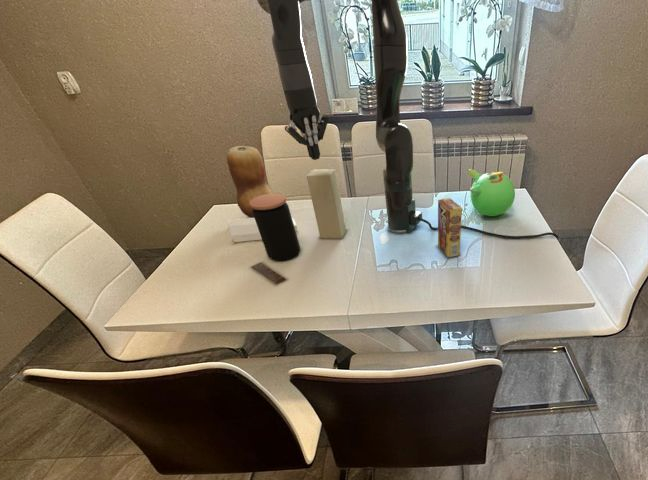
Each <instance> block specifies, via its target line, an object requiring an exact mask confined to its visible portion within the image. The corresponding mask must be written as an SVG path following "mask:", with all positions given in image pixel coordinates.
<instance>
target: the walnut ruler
mask: <svg viewBox="0 0 648 480" xmlns="http://www.w3.org/2000/svg"><path fill="white" fill-rule="evenodd" d="M251 267H252V268H253V270H256V271H257V272H258V273H259V274H262V275H263V276H264V277H266V278H267V279H268V280H270V281H271V282H273V283H275V284H276V285H278V284H280V283H282V282H284V281H286V278H285V277H283V276H282V275H280V274H279V273H277V272H276V271H274V270H272V269H271V268H270V267H268V266H267V265H265V264H264V263H262V262H258V263H256V264H254V265H252V266H251Z"/></svg>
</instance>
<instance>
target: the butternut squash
mask: <svg viewBox="0 0 648 480" xmlns="http://www.w3.org/2000/svg"><path fill="white" fill-rule="evenodd" d="M226 161H227V166H228V171H229V174H230V176H231V179H232V182H233V185H234V186H235V189H236V202H237V206H238V208H239V210H240V211H241V213H242V214H244V216H246V217H247V218H254V215H253V213H252V210H253V208H251V206H250V204H249V203H250V201H251V200H252V199H254V198H256V197H258V196H261V195H265V194H274V193H273V192H272V189H271V188H270V187H269V185H268V182H267V177H266V170H265V169H266V167H265V164H264V161H263V157H262V154H261V153H260V151H259V150H258V149H257V148H256V147H254V146H246V145H236V146H233V147H231V148H229V150H227V153H226Z"/></svg>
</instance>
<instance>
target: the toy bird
mask: <svg viewBox="0 0 648 480" xmlns="http://www.w3.org/2000/svg"><path fill="white" fill-rule="evenodd" d="M467 171H468V173H469V175H470V176H471V178H472V179H473V183H472V185H471V187H470V189H469V192H470V202H471V204H472V206H473V208H474V209H475V210H476V211H477V213H479V214H481V215H482V216H483V215H484V216H486V217H487V216H488V217H496V216H500V215H502V214H504V213H506V212H507V211H509V210H510V209H511V207H512V206H513V204H514V201H515V199H516V197H515V196H516V191H515V186H514V183H513V181H512V180H511V178H510V177H509V176H507V175H506V174H504V173H505V172H504V171H497V172H494V171H491V172H487V173H484V174H482V173H479V172H478V171H476V170H474V169H471V168H469V169H468V170H467Z"/></svg>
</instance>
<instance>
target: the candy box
mask: <svg viewBox="0 0 648 480" xmlns="http://www.w3.org/2000/svg"><path fill="white" fill-rule="evenodd" d="M437 203H438V204H437V228H438V230H437V247H438V248H439V249H440V250H441V251H442V253H444V255H445V256H446V257H447V258H454V257H457V256H460V252H461V251H460V250H461V235H462V234H461V233H462V228H461V225H462V213H463V208H462V207H461V205H459V204H457V202H456V201H454V200H453V199H452V198H450V197H445V198H441V199H438V200H437Z"/></svg>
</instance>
